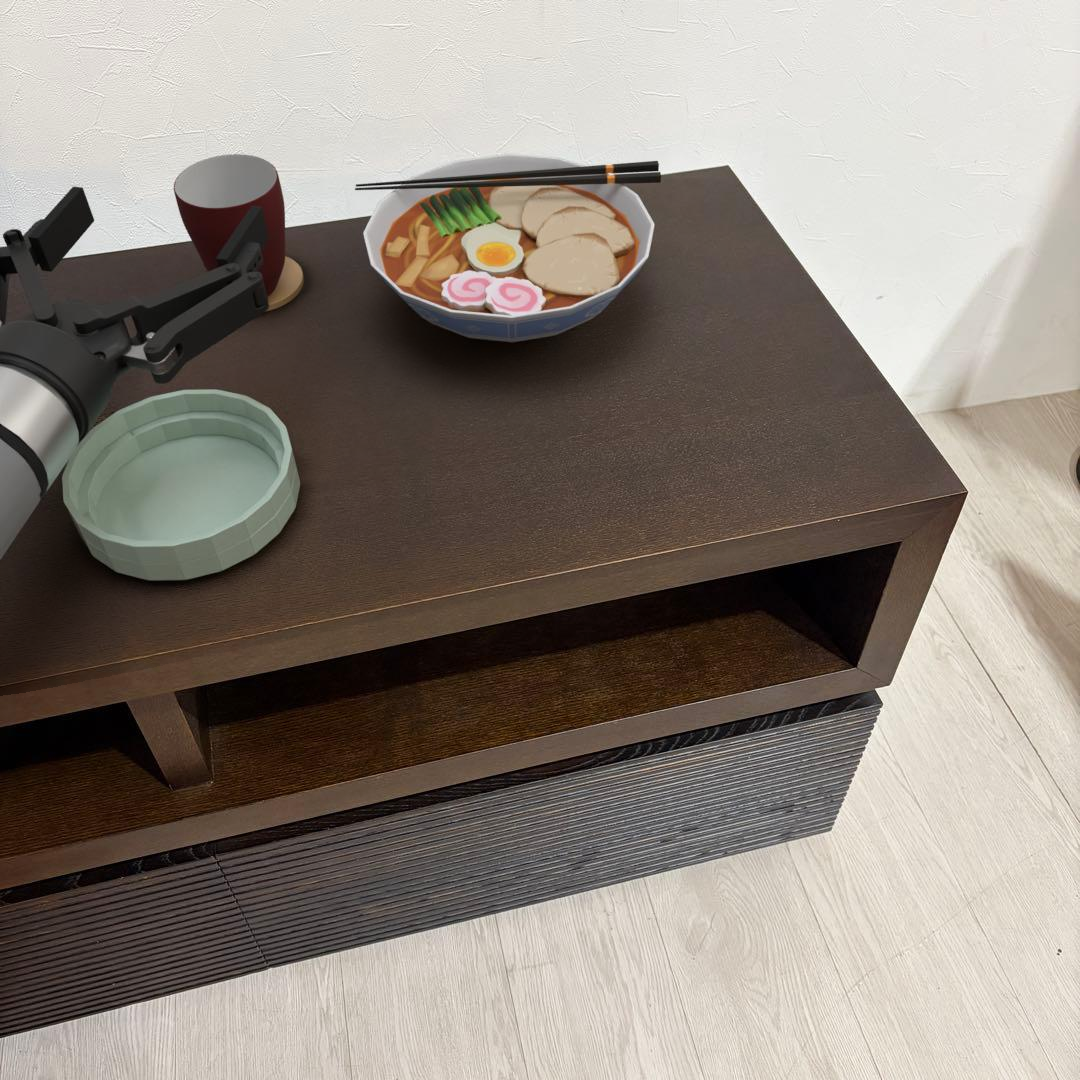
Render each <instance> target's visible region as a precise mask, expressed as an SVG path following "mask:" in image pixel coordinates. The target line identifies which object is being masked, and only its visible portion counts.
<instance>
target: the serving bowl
mask: <svg viewBox="0 0 1080 1080" xmlns="http://www.w3.org/2000/svg"><path fill="white" fill-rule="evenodd" d="M61 481H62V482H61V483H62V501H63V503H64V505H65V508H66V509H67V511H68V514H69V516H70V518H71V520H72V522H73V524H74V526H75V528H76V530H77V532H78V534H79V537H80V538H81V539H82V541H83V543H84V544H85V546H86V547H87V549H88V551H89V553H90V554H91V556H93V557H94V558H95V559H96V560H98V561H99V562H101V563H102V564H104V565H105V566H107V567H108V568H110V569H111V570H113V571H114V572H116V573H118V574H122V575H126V576H130V577H133V578H138V579H141V580H144V581H145V580H146V581H187V580H191V579H196V578H199V577H203V576H207V575H211V574H215V573H220V572H222V571H225V570H226V569H229V568H231V567H232V566H235V565H237V564H239V563H241V562H243V561H245V560H247V559H249V558H251V557H252V556H254V555H256V554H257V553H258V552H259V551H261V550H262V549H263V548H264V547H266V546H267V545H268V544H269V543H270V542H271V541H272V540H273V539H275V538H276V537H277V536H278V535H280V533H281V532H282V530H283V529H284V527H285V525H286V524H287V523H288V521H289V519H290V518H291V516H292V514H293V513H294V511H295V509H296V507H297V504H298V503H297V502H298V498H299V493H300V487H301V480H300V476H299V471H298V467H297V464H296V459H295V455H294V450H293V447H292V444H291V440H290V435H289V432H288V428H287V426H286V425H285V424H284V422H282V420H281V419H280V418H279V417H278V415H277V414H275V412H274V411H273V410H272V409H271V408H270V407H268V406H267V405H265V404H264V403H261V402H259V401H258V400H255V399H253V398H251V397H250V396H248V395H245V394H241V393H235V392H231V391H226V390H222V389H215V388H213V389H212V388H211V389H182V390H176V391H172V392H167V393H162V394H157V395H152V396H149V397H146V398H144V399H142V400H139V401H138V402H135V403H132V404H130V405H128V406H125V407H123V408H121V409H119V410H117V411H115V412H114V413H112V414H111V415H110V416H108V417H106V418H105V419H103V421H101V422H99V423H98V424H97V425H95V426H93V427H91V429H90V430H89V432H88V433H87V435H86V436H85V437H84V439H83V440H82V441H80V442H79V443H78V444H77V447H76V449H75V451H74V453H73V454H72V456H71V457H70V459H69V460H68V461H67V463H66V465H65V467H64V470H63V473H62V476H61Z"/></svg>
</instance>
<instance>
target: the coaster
mask: <svg viewBox="0 0 1080 1080" xmlns="http://www.w3.org/2000/svg"><path fill="white" fill-rule="evenodd" d="M304 282H305V278H304V274H303V269H302V267H301V265H300V264H299V263H297V262H296V261H295V260H294V259H293V258H291V257H289V256H287V255H285V263H284V267H283V270H282V273H281V276H280V279H279V281H278V284H277V287H276V289H275V290H274V292H273V293H272V294H270V295H269V296H268V297H267V298H268V303H269V309H267V310H266V311H265V312H269V311H274V310H276V309H279V308H281V307H283V306H284V305H287V304H289V303H290V302H291V301H292V300H294V299H295V298H296V297H297V296H299V294H300V292H301V291H302V289H303V287H304V284H305V283H304ZM265 312H264V313H265Z"/></svg>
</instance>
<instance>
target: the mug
mask: <svg viewBox="0 0 1080 1080" xmlns="http://www.w3.org/2000/svg"><path fill="white" fill-rule="evenodd" d="M173 193H174V196H175V197H174V198H175V201H176V205H177V208H178V212H179V215H180V217H181V221H182V224H183V226H184V228H185V230H186V232H187V234H188V237H189V238H190V240H191V242H192V245H193V246H194V248H195V251H196V252H197V254H198V256H199V258H200V260H201V262H202V264H203V266H204V268H205V269H206V271H207V272H209V271H211V270H214V269H216V268H218V265H217V261H216V257H217V256H218V254H219V253H220V252H221V250H222V249H223V247H224V246H225V244H226V243H227V241H228V240H229V238H230V237H231V235H232V234H233V233H234V231H235V230H236V228H237V227H238V225H239V224H240V222H241V221H242V219H243V218H244V216H245V215H246V214H247V212H248V211H249V209H250V208H251V206H260V207H262V209H263V213H264V218H265V222H266V227H267V231H268V236H269V242H268V243H267V245H266V246H265V248H264V249H263V251H262V257H263V266H262V268H261V269H260V271H259V273H261V274H262V277H263V282H264V286H265V290H266V294H267V297H268V296H269V295H270V294H272V293H273V292H274V290H275V289H276V287H277V284H278V281H279V279H280V276H281V273H282V270H283V267H284V263H285V256H286V253H287V252H286V251H287V250H286V209H285V207H286V206H285V199H284V194H283V189H282V185H281V181H280V177H279V172H278V171H277V168H276V167H275V166H274V164H272V163H271V162H270V161H268V160H267V159H264V158H262V157H259V156H255V155H250V154H240V153H239V154H238V153H237V154H235V153H234V154H222V155H217V156H212V157H208V158H205V159H202V160H200V161H196V162H194V163H193V164H191V165H189V166H188V167H186V168H184V170H183V171H181V172H180V173H179V174H178V176H177V177H176V178H175V180H174V182H173Z"/></svg>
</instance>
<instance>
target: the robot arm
mask: <svg viewBox="0 0 1080 1080" xmlns="http://www.w3.org/2000/svg"><path fill="white" fill-rule="evenodd" d="M94 222H95V218H94V215H93V212H92V210H91V207H90V204H89V201H88V198H87V195H86V193H85V190H84V187H80V186H72V187H71V188H70V189H69V190H68V191H67V193H66V194H64V196H63V197H62V198H61V199H60V200H59V202H58V203H57V204H56V205H55V206H54V207H53V208H52V209H51V211H49V213H47V215H46V216H45V217H44V218H40V219H38V220H37V221H35V222H34V223H33V224H32V225H31V226H30V227H29V228H28V230H27V231H25V233H24V234H23V233H22V231H21V230H20V229H18V228H11V229H8V230H6V231H4V232H3V233H2V238H3V240H4V243H5V246H0V561H1V560H2V558H3V557H4V555H5V554H6V552H7V551H8V549H9V548H10V546H11V545H12V544H13V542H14V540H15V539H16V537H17V536H18V535H19V533H20V532H21V530H22V528H23V527H24V526H25V524H26V523H27V521H29V518H30V517H31V515H32V514H33V512H34V511H35V509H36V508H37V506H38V505H39V504H40V502H41V500H42V498H44V495H45V494H46V493H47V492H48V490H49V489H50V488H51V487H52V485H53V483H54V482H55V480H56V479H57V478H58V476H59V474H60V473H61V472H62V470H63V469H64V468H65V467H66V465H67V463H68V461H69V459H70V457H71V456H72V454H73V453H74V451H75V449H76V447H77V445H78V444H79V443H80V442H81V441H82V440H83V439H84V437H85V436H86V435H87V434H88V433H89V432H90V430H91V429H92V428H93V427H94V425H95V424H96V422H97V420H98V419H99V417H100V416H101V415H102V412H103V411H105V409H106V407H107V406H108V404H109V401H110V398H111V395H112V391H113V387H114V384H115V383H116V380H117V379H119V378H120V377H121V376H122V375H124V374H125V373H128V372H129V371H130V370H131V369H138V370H143V371H147V372H150V373H151V375H152V379H153V382H155V383H156V384H159V385H164V384H167V383H170V382H171V381H172V380H174V378H175V377H176V376H177V375H178V373H179V372H180V371H181V370H182V369H183V368H184V366H185V365H186V364H187V363H188V362H190V361H192V360H194V359H195V358H196V357H198V356H199V355H201V354H202V353H204V352H205V351H207V350H208V349H210V348H212V347H213V346H215V345H216V344H218V343H219V342H220V341H222V340H223V339H225V338H227V337H228V336H230V335H231V334H233V333H235V332H236V331H237V330H239V329H240V328H242V327H244V326H245V325H247V324H248V323H250V322H251V321H253V320H254V319H255V318H257V317H259V316H261V315H262V314H263V313H265V311H266V310H267V309H269V303H268V298H267V294H266V290H265V286H264V282H263V277H262V274H261V273H259V271H260V269H261V268H262V266H263V257H262V251H263V249H264V248H265V246H266V245H267V243H268V242H269V236H268V231H267V227H266V222H265V218H264V213H263V209H262V207H260V206H251V208H250V209H249V211H248V212H247V214H246V215H245V216H244V218H243V219H242V221H241V222H240V224H239V225H238V227H237V228H236V230H235V231H234V233H233V234H232V235H231V237H230V238H229V240H228V241H227V243H226V244H225V246H224V247H223V249H222V250H221V252H220V253H219V254H218V256H217V257H216V261H217V265H218V268H216V269H214V270H211V271H209V272H208V271H207V272H204V273H201V274H199V275H196V276H194V277H192V278H190V279H187V280H185V281H182V282H180V283H177V284H175V285H173V286H170V287H167V288H165V289H161V290H160V291H158V292H155V293H153V294H150V295H148V296H145V297H143V298H139V297H136V296H135V295H129V296H127V297H125V298H122V299H119V300H117V301H114V302H112V303H111V302H103V301H100V302H99V301H97V302H96V301H95V302H87V301H84V300H81V299H78V298H69V297H67V298H66V299H65V300H62V301H57V302H54V303H52V301H51V299H50V297H49V294H48V293H47V289H46V288H45V285H44V283H43V280H42V277H41V275H40V273H39V271H38V268H37V266H38V265H39V268H40V270H41V271H42V272H51V273H52V272H53V271H54V270H55V268H57V266H58V265H59V264H60V263H61V261H62V260H63V259H64V258H65V257H66V255H68V253H69V252H70V251H71V250H72V248H73V247H74V246H75V245H76V244H77V243H78V242H79V240H80V239H81V238H82V237H83V235H84V234H85V233H86V232H87V231H88V229H89V228H90V227H91V226H92V224H94ZM13 274H14V275H15V274H17V275H18V278H19V280H20V283H21V285H22V288H23V290H24V293H25V295H26V299H27V301H28V303H29V305H30V308H31V311H32V312H31V313H28V314H27V315H25V316H23V317H20V318H18V319H16V320H14V321H9V322H6V320H7V310H8V309H7V308H8V297H9V286H10V275H13ZM266 312H267V311H266ZM128 317H129V318H130V317H131V318H132V322H133V325H134V328H135V330H136V331H135V332H136V334H135V336H133V337H131V336H130V332H129V330H128V327H127V323H126V322H125V319H126V318H128Z"/></svg>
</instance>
